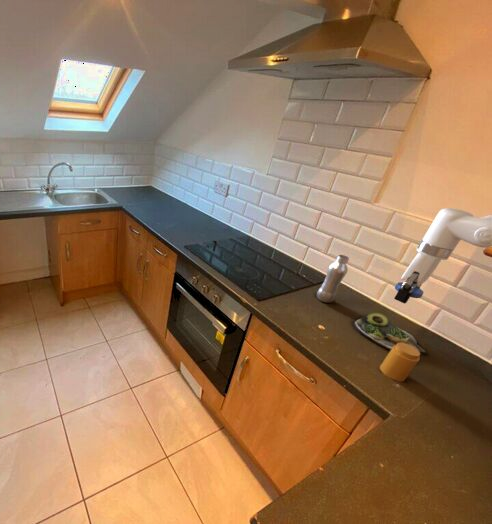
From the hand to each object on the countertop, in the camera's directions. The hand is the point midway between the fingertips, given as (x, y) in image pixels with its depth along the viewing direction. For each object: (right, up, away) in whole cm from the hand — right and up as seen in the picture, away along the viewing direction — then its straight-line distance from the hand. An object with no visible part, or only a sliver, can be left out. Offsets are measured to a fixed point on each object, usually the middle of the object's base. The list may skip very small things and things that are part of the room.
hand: (404, 297), depth 99 cm
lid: (0, +3, -2) cm, 3 cm away
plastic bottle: (-12, -4, +24) cm, 27 cm away
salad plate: (-2, -14, +7) cm, 16 cm away
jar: (-13, -22, -10) cm, 27 cm away
